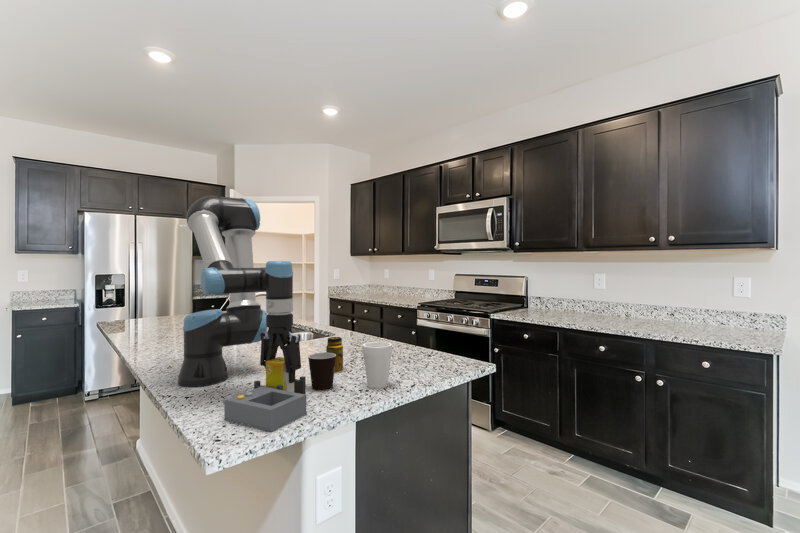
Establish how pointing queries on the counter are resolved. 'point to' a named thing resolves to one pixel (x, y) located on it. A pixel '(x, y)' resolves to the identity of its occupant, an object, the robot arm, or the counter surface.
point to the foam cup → (377, 363)
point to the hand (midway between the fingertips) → (280, 391)
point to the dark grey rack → (298, 385)
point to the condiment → (336, 352)
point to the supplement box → (276, 372)
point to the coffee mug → (322, 370)
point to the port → (265, 408)
